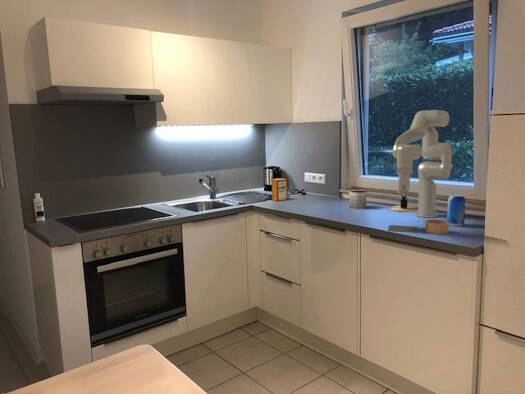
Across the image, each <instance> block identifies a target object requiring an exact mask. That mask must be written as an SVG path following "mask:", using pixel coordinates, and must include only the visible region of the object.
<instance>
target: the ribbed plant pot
mask: <svg viewBox="0 0 525 394" xmlns="http://www.w3.org/2000/svg"><path fill="white" fill-rule="evenodd" d="M348 193H349V195H348V198H349V199H348V203H349V204H348V205H349V206H348V209H350V210H364V209H367V196H368V195H367V190H366V189H351V190H349V192H348Z"/></svg>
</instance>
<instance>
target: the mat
mask: <svg viewBox="0 0 525 394" xmlns="http://www.w3.org/2000/svg"><path fill="white" fill-rule="evenodd" d="M387 232H393V233H394V232H395V233H397V232H398V233H411V234H412V233H413V234H418V226H415V225H414V226H413V225H410V226H409V225H394V224H392V225H391V224H389V225H388V229H387Z"/></svg>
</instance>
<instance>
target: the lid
mask: <svg viewBox="0 0 525 394" xmlns="http://www.w3.org/2000/svg"><path fill="white" fill-rule="evenodd" d="M390 209H391V210H390V211H392V212H397V213H412V212H418V208H417V207H416V206H413V205H407V208H401V205H394V206H391V208H390Z"/></svg>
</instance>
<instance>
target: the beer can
mask: <svg viewBox="0 0 525 394" xmlns="http://www.w3.org/2000/svg"><path fill="white" fill-rule="evenodd" d="M446 211H447V212H446V213H447V215H446V221H448V222H449V227H450V226H451V227H462V226H463V225H465V218H466V217H465V216H466V213H465V212H466V198H465V195H464V194H458V193H452V194H450V195H449V197H448V198H447V210H446Z"/></svg>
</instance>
